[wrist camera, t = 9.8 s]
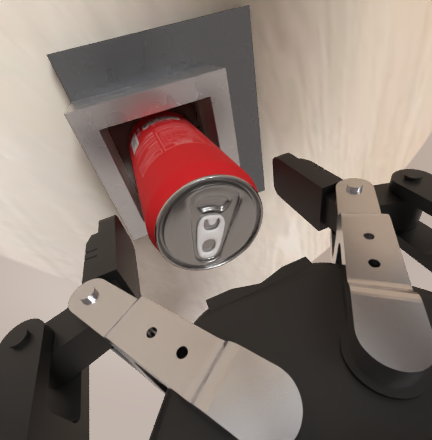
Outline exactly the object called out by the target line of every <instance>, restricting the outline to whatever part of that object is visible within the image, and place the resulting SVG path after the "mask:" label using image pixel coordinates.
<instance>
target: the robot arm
mask: <svg viewBox="0 0 432 440" xmlns="http://www.w3.org/2000/svg"><path fill="white" fill-rule="evenodd" d="M273 177H274V187H275V190H276V192H277V194H278V195H279V196H280V197H281V198H282V199H283V200H284V201H285V202H286V203H288V204H289V205H290V206H291V207H292V208H293V209H294V210H295V211H297V212H298V213H299V214H300V215H301V216H302V217H303V218H304V219H306V220H307V221H308V222H309V223H310V224H311V225H312V226H313V227H315V228H316V229H317V230H318V231H321V230H323V229H325V228H328V227H329V228H330V229H331V231H330V247H331V263H311V262H310V261H309V260H308V259H307V258H306V257H304V258H301V259H299V260H297V261H295V262H292V263H290V264H288V265H285V266H283V267H281V268H280V269H279V270H278V271H276V272H275V273H274V274H272V275H271V276H270V277H269V278H267V279H266V280H265V281H263V282H262V283H260V284H255V285H250V286H245V287H240V288H235V289H231V290H228V291H226V292H224V293H222V294H219V295H217V296H215V297H212V298H210V299H208V300H206V302H207V305H208V307H209V309H208V310H206V311H205V312H204V313H203V314H202V315H201V316H200V317H199V318H198V319H197V320H196V321H195V323H194V324H193V323H191V322H189V321H187V320H185V319H184V318H182V317H180V316H178V315H177V314H175V313H173V312H171V311H169V310H168V309H166V308H164V307H162V306H160V305H159V304H157V303H155V302H153V301H152V300H150V299H148V298H146V297H144V296H141V294H140V286H139V278H138V271H137V263H136V255H135V249H134V246H133V243H132V241H131V239H130V237H129V236H128V234H127V232H126V230H125V229H124V227H123V225H122V223H121V222H120V220H119V218H118V217H117V216H116V215H114V216H111V217H108V218H106V219H103V220H100V221H99V228H98V233H96V234H94V235H92V236H91V237H90V239H89V241H88V242H87V244H86V251H85V253H86V254H85V261H84V270H83V279H82V285H81V286H79V287H78V288H77V289H76V290H75V291H74V293H73V294H72V295H71V297H70V299H69V302H68V308H67V309H66V310H64V311H63V312H61V313H60V314H59V315H57V316H55V317H54V318H52V319H51V320H49V321H48V322H46V323H44V322H43V321H41V320H40V319H30V320H27V321H24V322H23V323H21V324H19V325H17V326H16V327H15V328H13V330H11V331H10V332H9V333H8V334H7V335H6V336H5V338H4V339H3V340H2V342H1V343H0V440H89V365H90V364H91V363H92V362H94V361H95V360H96V359H98V358H99V357H100V356H101V355H102V354H104V353H105V352H106V351H107V350H109V349H111V350H113V351H114V352H115V353H116V354H118V355H119V356H120V357H121V358H123V359H124V360H125V361H126V362H128V363H129V364H130V365H131V366H132V367H134V368H135V369H136V370H138V371H139V372H140V373H141V374H142V375H143V376H144V377H146V378H147V379H148V380H149V381H150V382H151V383H153V384H154V385H155V386H156V387H157V388H158V389H160V390H161V391H162V392H163V393H164V394H165V397H164V400H163V403H162V405H161V408H160V411H159V414H158V416H157V419H156V422H155V425H154V428H153V431H152V433H151V436H150V439H149V440H432V292H430V291H427V290H424V289H420V288H417V287H414V286H411V283H410V280H409V276H408V273H407V270H406V267H405V263H404V260H403V257H402V254H401V251H400V248H401V249H402V250H404V251H405V252H406V253H408V254H409V255H410V256H411V257H413V258H414V259H415V260H417V261H418V262H419V263H421V264H422V265H423V266H424V267H426V268H427V269H428V270H430V271H431V272H432V229H431V228H430V227H428V226H427V225H425V224H423V223H422V222H420V221H419V219H420V216H421V213H422V211H424V212H425V213H427V214H429V215H431V216H432V175H431V174H429V173H427V172H424V171H420V170H415V169H404V170H399V171H396V172H395V173H393V174H392V177H391V181H390V183H386V184H380V185H374V186H373V185H372V184H371V183H370V182H368V181H366V180H363V179H357V178H349V179H344V180H343V179H341V178H339V177H337V176H336V175H334V174H332V173H331V172H329V171H327V170H324V168H322V167H320V166H318V165H317V164H315V163H313V162H312V161H309V160H305V159H301V158H300V159H299V158H297V157H295V156H294V155H292V154H290V153H286V154H283V155H280V156H277V157H275V158H274V159H273Z"/></svg>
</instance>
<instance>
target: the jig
mask: <svg viewBox="0 0 432 440" xmlns="http://www.w3.org/2000/svg"><path fill="white" fill-rule="evenodd" d="M47 57H48V58H49V60H50V62H51V64H52V66H53V68H54V70H55V72H56V74H57V76H58V78H59V80H60V82H61V83H62V85H63V87H64V89H65V91H66V93H67V95H68V97H69V99H70V101H71V104H70V105H69V107H68V108H67V110H66V112H65V113H64V115H65V117H66V119H67V121H68V122H69V124H70V126H71V128H72V130H73V131H74V133H75V135H76V137H77V139H78V140H79V142H80V144H81V146H82V148H83V149H84V151H85V153H86V155H87V157H88V159H89V160H90V162H91V164H92V166H93V168H94V169H95V171H96V173H97V175H98V177H99V178H100V180H101V182H102V184H103V186H104V187H105V189H106V191H107V193H108V195H109V197H110V198H111V200H112V202H113V204H114V206H115V207H116V209H117V211H118V213H119V215H120V216H121V218H122V220H123V222H124V224H125V225H126V227H127V229H128V231H129V233H130V234H131V236H132V238H133V240H136V239H139V238H141V237H144V236H147V235H148V233H147V229H146V225H145V220H144V216H143V211H142V207H141V202H140V198H139V193H137V191H136V189H135V187H134V185H133V183H132V181H131V178H130V176H129V174H128V172H127V170H126V168H125V166H124V163H123V161H122V159H121V157H120V155H119V153H118V151H117V148H116V146H115V144H114V142H113V140H112V138H111V135H110V133H109V131H108V129H107V128H108V127H111V126H114V125H118V124H121V123H124V122H128V121H131V120H134V119H138V118H141V117H144V116H147V115H151V114H154V113H157V112H161V111H164V110H167V109H171V108H174V107H177V106H181V105H184V104H187V103H190V102H194V105H195V109H196V113H197V117H198V122H199V126H200V130H201V132H202V133H203V134H204V135H205V136H206V137H207V138H208V139H209V140H210V141H212V142H213V143H214V144H215V145H216V146H217V147H218V148H219V149H221V150H222V151H223V152H224V153H225V154H226V155H227V156H228V157H230V158H231V159H232V160H233V161H234V162H235V163H236V164H237V165H238V166H240V167H241V168H242V169H243V170H244V171H245V172H246V173H247V174H248V175H249V176H250V177H251V179H252V180H253V182H254V184H255V186H256V188H257V191H258V192H261V191H263V190H265V187H264V176H263V164H262V152H261V140H260V129H259V117H258V105H257V93H256V82H255V70H254V58H253V46H252V35H251V23H250V11H249V5H247V6H243V7H239V8H235V9H231V10H227V11H223V12H219V13H214V14H210V15H206V16H202V17H198V18H194V19H190V20H186V21H182V22H178V23H174V24H170V25H166V26H162V27H158V28H154V29H149V30H145V31H141V32H137V33H133V34H129V35H125V36H121V37H117V38H113V39H109V40H105V41H101V42H97V43H93V44H89V45H85V46H80V47H76V48H72V49H68V50H64V51H60V52H56V53H52V54H48V55H47Z"/></svg>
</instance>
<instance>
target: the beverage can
mask: <svg viewBox="0 0 432 440" xmlns="http://www.w3.org/2000/svg"><path fill="white" fill-rule="evenodd" d="M129 153H130V157H131V162H132V166H133V171H134V175H135V180H136V184H137V189H138V193H139V198H140V202H141V207H142V211H143V216H144V220H145V225H146V229H147V233H148V236H149V238H150V240H151V242H152V243H153V245H154V246H155V247H156V248H157V249H158V250H159V251H160V253H161V254H162V255H163V257H164V258H165V259H166V260H168V261H169V262H170V263H172V264H173V265H175V266H177V267H180V268H183V269H187V270H207V269H212V268H215V267H218V266H221V265H224V264H226V263H228V262H230V261H231V260H233V259H235V258H236V257H237V256H239V255H240V254H241V253H243V252H244V251H245V250H246V249H247V248H248V247H249V246H250V244H251V243H252V242H253V240H254V239H255V237H256V235H257V233H258V231H259V229H260V226H261V223H262V218H263V207H262V202H261V199H260V197H259V195H258V191H257V188H256V186H255V184H254V182H253V180H252V179H251V177H250V176H249V175H248V174H247V173H246V172H245V171H244V170H243V169H242V168H241V167H240V166H238V165H237V164H236V163H235V162H234V161H233V160H232V159H231V158H230V157H228V156H227V155H226V154H225V153H224V152H223V151H222V150H221V149H219V148H218V147H217V146H216V145H215V144H214V143H213V142H212V141H210V140H209V139H208V138H207V137H206V136H205V135H204V134H203V133H202V132H200V131H199V130H198V129H197V128H196V127H195V126H194V125H193V124H191V123H190V122H189V121H188V120H187V119H186V118H184V117H183V116H182V115H180V114H178V113H175V112H172V111H167V110H164V111H161V112H157V113H154V114H151V115H147V116H144V117H142V118H141V119H139V120H138V121H137V123H136V124H135V125H134V127H133V129H132V131H131V133H130V137H129Z"/></svg>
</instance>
